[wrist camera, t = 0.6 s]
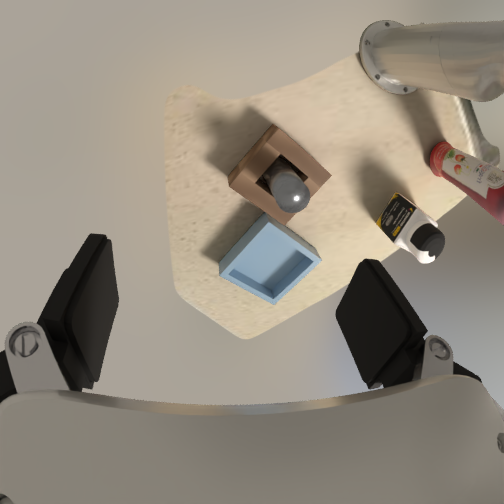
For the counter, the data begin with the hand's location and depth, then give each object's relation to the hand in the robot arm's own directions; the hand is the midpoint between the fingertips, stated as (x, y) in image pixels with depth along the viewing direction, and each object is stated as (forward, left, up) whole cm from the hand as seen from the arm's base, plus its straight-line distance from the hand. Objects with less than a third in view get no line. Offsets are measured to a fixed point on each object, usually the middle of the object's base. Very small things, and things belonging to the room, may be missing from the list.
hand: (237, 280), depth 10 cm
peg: (0, +10, -31) cm, 32 cm away
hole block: (0, +10, -31) cm, 32 cm away
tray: (+12, +19, -31) cm, 38 cm away
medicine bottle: (-9, +33, -31) cm, 46 cm away
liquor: (-23, +31, -31) cm, 50 cm away
